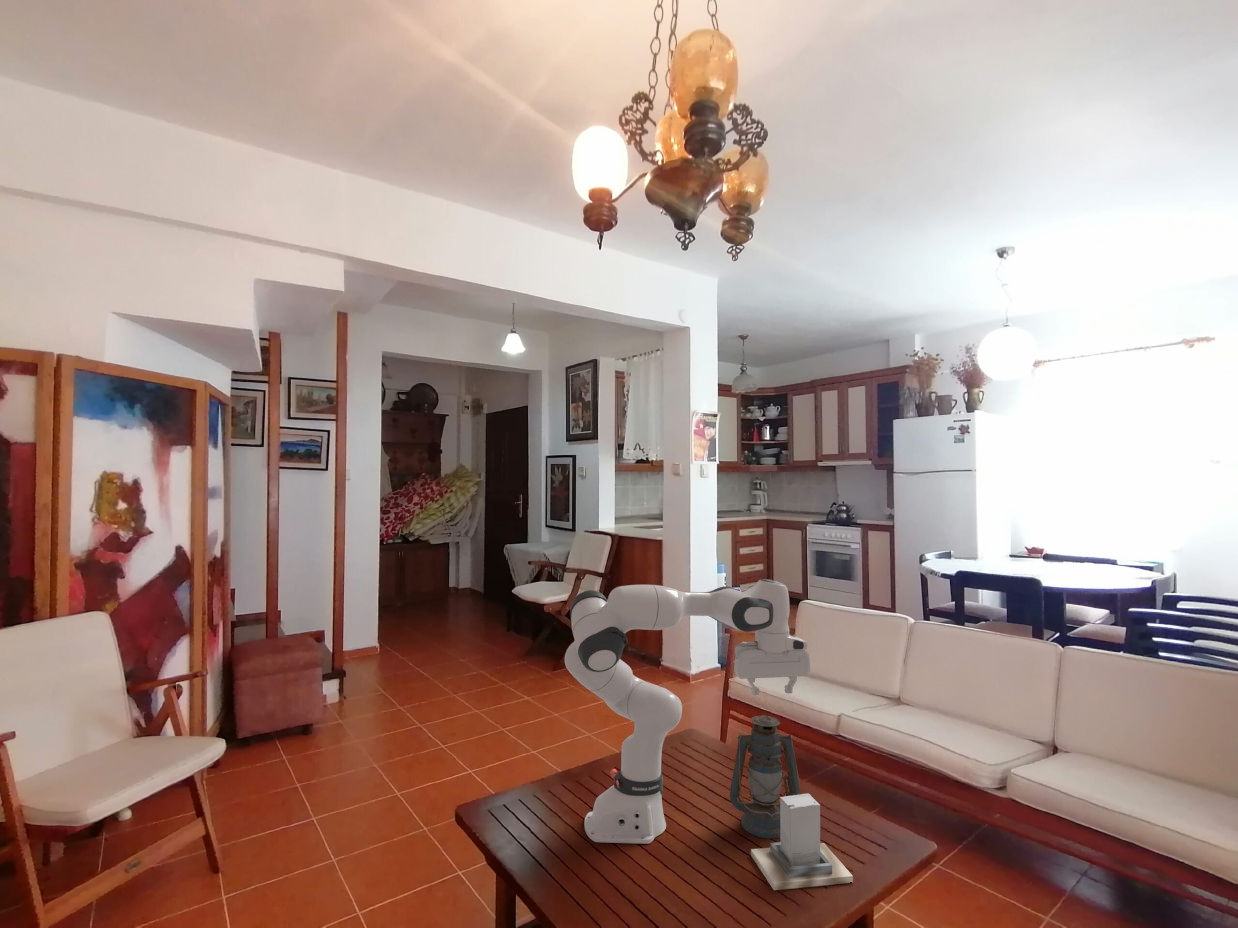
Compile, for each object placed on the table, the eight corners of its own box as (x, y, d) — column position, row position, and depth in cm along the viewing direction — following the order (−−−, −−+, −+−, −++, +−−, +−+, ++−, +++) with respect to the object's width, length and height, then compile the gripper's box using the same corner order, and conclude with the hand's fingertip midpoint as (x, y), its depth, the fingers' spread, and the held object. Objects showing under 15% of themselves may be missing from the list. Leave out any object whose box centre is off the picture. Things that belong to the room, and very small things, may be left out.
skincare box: (809, 851, 159) (809, 791, 160) (821, 865, 153) (822, 803, 154) (778, 854, 157) (779, 794, 158) (789, 869, 152) (790, 806, 152)
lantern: (792, 813, 180) (793, 708, 181) (808, 842, 166) (809, 727, 167) (725, 813, 180) (726, 707, 181) (735, 841, 166) (736, 726, 167)
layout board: (773, 890, 146) (773, 874, 146) (750, 855, 160) (751, 841, 160) (852, 882, 149) (852, 867, 150) (823, 848, 163) (823, 834, 163)
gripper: (739, 644, 162) (738, 699, 161) (813, 642, 165) (812, 695, 165) (730, 639, 168) (730, 691, 168) (802, 637, 172) (801, 688, 171)
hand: (771, 693), depth 166 cm, fingers open, 8 cm apart
